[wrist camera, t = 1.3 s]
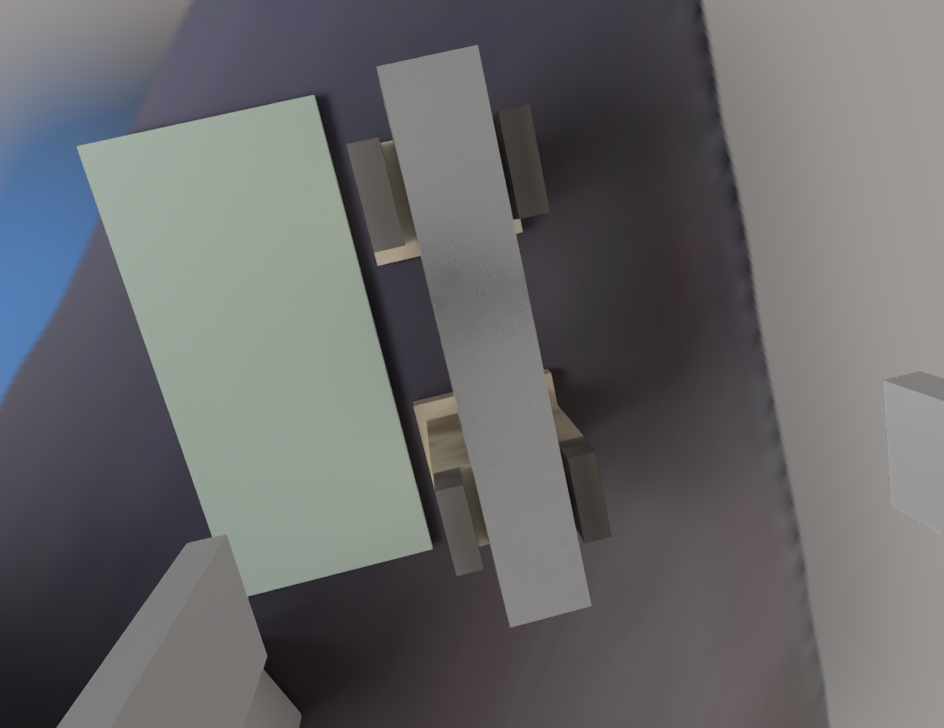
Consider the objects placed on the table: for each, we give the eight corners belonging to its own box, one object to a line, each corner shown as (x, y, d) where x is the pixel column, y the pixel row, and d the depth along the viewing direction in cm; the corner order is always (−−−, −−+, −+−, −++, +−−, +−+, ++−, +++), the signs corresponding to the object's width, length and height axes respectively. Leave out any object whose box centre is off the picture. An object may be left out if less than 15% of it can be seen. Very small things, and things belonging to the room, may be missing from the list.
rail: (570, 563, 30) (591, 606, 27) (498, 582, 30) (510, 627, 27) (467, 69, 25) (477, 44, 22) (380, 87, 25) (376, 66, 22)
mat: (236, 594, 39) (234, 599, 38) (82, 147, 33) (76, 146, 32) (432, 544, 39) (432, 549, 39) (315, 96, 33) (314, 94, 33)
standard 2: (378, 264, 35) (366, 281, 25) (349, 152, 34) (324, 118, 23) (519, 231, 36) (568, 234, 25) (497, 119, 34) (538, 72, 24)
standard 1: (437, 495, 38) (449, 599, 28) (413, 401, 37) (416, 472, 26) (566, 463, 39) (627, 553, 28) (547, 368, 38) (603, 426, 27)
